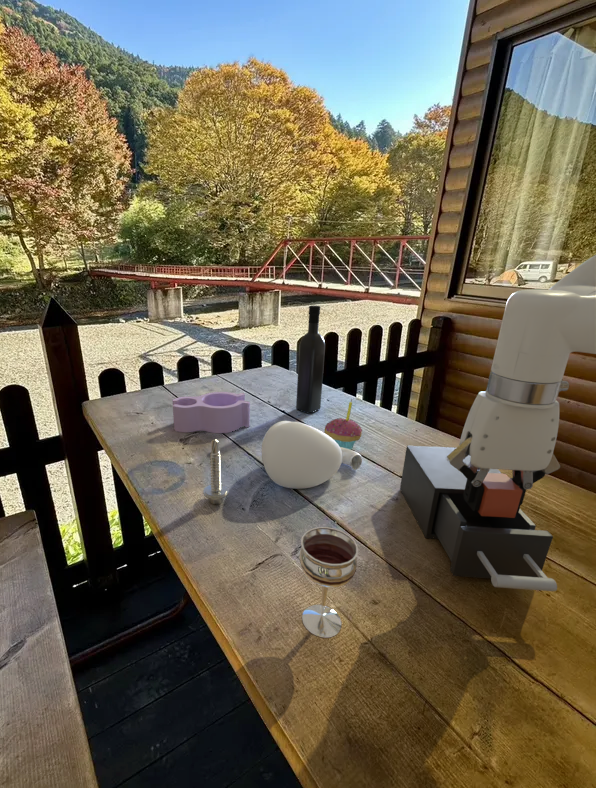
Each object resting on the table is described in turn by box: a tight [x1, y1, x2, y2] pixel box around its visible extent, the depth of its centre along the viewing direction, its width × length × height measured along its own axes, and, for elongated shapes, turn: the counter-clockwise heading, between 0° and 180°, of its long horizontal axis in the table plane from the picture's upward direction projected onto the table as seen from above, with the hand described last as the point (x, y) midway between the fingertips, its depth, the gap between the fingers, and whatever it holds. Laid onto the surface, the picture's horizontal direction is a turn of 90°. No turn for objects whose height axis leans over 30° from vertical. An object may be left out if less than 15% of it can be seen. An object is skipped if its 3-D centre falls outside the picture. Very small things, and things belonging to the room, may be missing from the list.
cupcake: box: [323, 398, 363, 450], centre depth 95 cm, size 9×8×12 cm
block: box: [478, 473, 523, 518], centre depth 59 cm, size 4×4×4 cm
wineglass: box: [298, 526, 359, 638], centre depth 51 cm, size 7×7×12 cm
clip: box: [172, 391, 251, 434], centre depth 110 cm, size 20×12×7 cm, turn 99°
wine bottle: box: [295, 305, 326, 413], centre depth 115 cm, size 6×6×30 cm
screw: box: [202, 438, 230, 505], centre depth 76 cm, size 13×5×5 cm
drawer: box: [432, 493, 558, 592], centre depth 60 cm, size 19×11×8 cm, turn 174°
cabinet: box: [399, 445, 503, 540], centre depth 72 cm, size 15×13×10 cm
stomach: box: [260, 420, 363, 490], centre depth 90 cm, size 23×13×24 cm
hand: (490, 505), depth 59 cm, fingers closed on block, 4 cm apart
